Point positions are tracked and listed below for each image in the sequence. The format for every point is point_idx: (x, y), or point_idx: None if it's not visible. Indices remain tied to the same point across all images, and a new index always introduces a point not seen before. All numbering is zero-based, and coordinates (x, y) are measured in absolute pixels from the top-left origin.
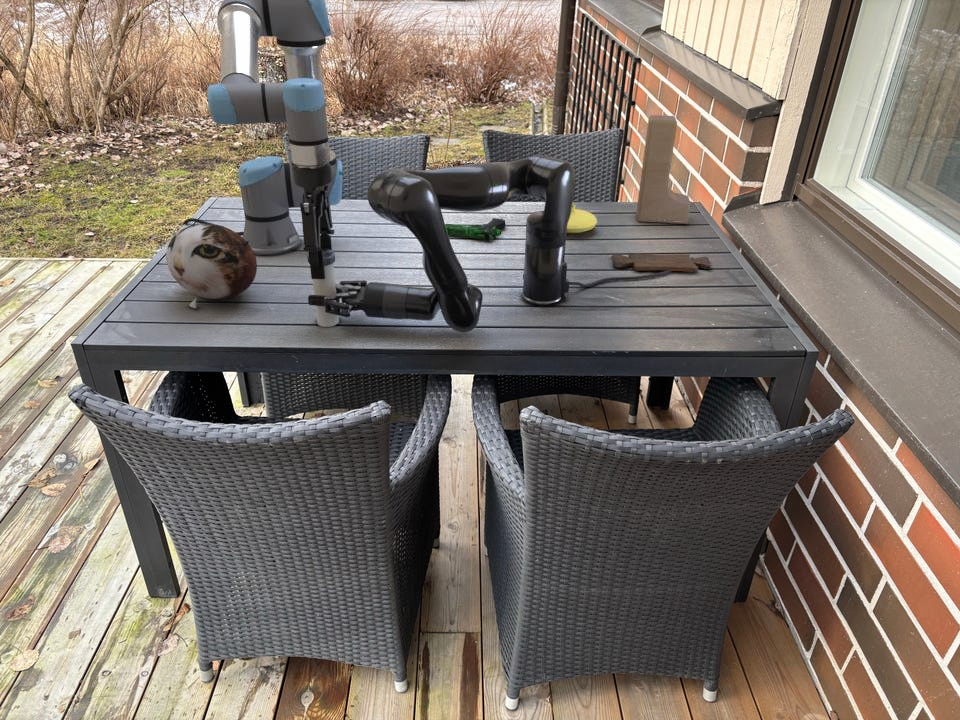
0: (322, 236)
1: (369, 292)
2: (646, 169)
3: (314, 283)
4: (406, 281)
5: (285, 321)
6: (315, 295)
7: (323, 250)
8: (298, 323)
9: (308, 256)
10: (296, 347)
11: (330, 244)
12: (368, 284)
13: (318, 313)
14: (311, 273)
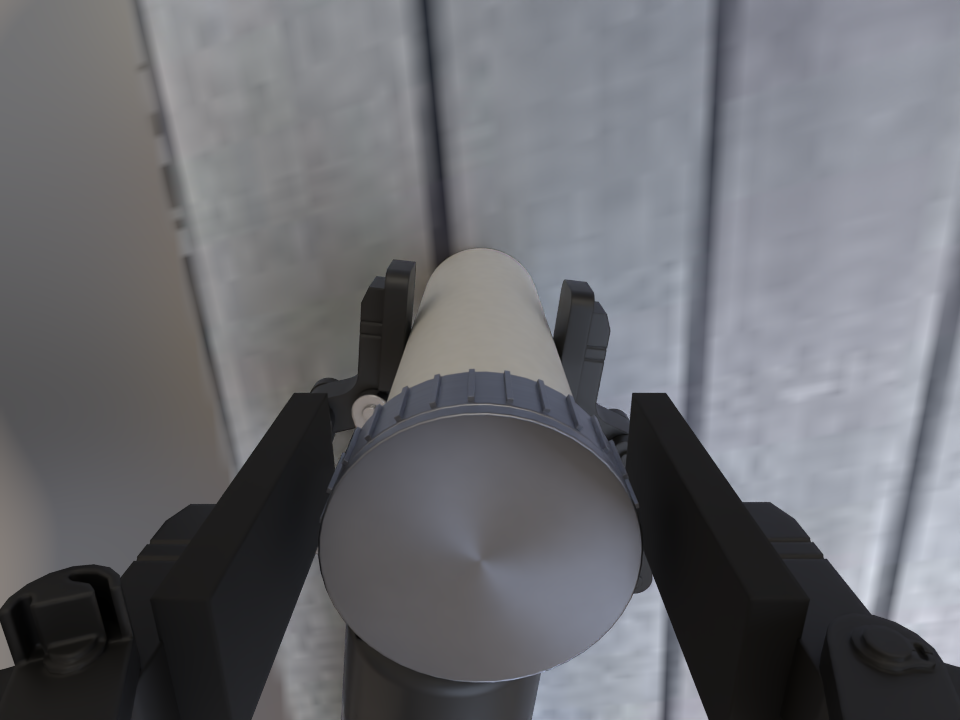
0: (737, 667)
1: (368, 685)
2: None
3: (409, 352)
4: (942, 584)
5: (469, 51)
6: (399, 325)
7: (574, 569)
8: (450, 142)
9: (374, 443)
10: (184, 207)
11: (686, 651)
12: (429, 695)
13: (427, 290)
14: (276, 422)
